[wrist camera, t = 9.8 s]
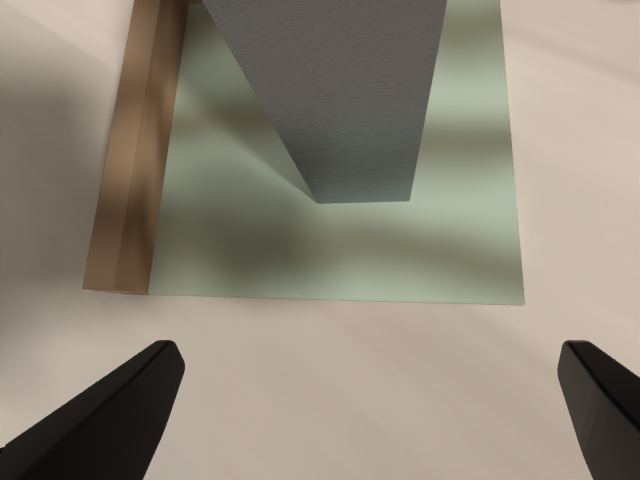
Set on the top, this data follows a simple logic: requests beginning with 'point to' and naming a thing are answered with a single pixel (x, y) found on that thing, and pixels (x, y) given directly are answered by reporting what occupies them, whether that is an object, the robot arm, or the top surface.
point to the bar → (340, 86)
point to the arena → (299, 181)
